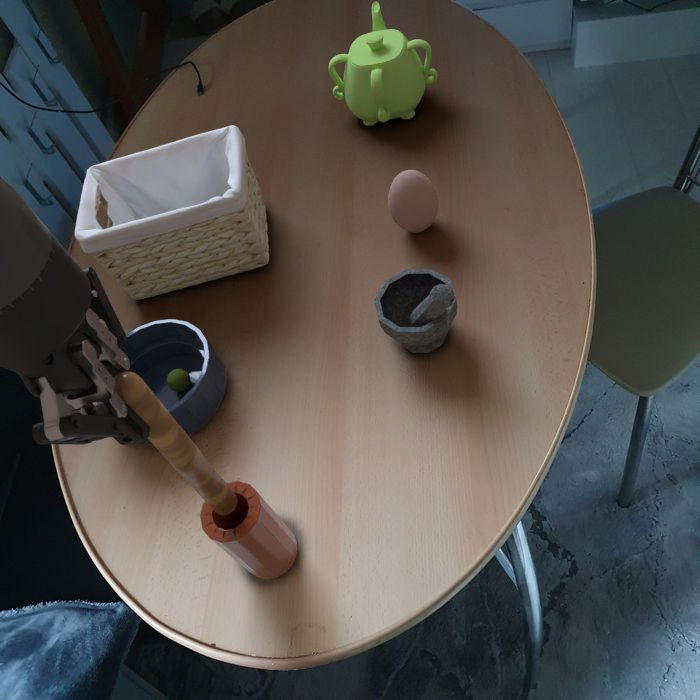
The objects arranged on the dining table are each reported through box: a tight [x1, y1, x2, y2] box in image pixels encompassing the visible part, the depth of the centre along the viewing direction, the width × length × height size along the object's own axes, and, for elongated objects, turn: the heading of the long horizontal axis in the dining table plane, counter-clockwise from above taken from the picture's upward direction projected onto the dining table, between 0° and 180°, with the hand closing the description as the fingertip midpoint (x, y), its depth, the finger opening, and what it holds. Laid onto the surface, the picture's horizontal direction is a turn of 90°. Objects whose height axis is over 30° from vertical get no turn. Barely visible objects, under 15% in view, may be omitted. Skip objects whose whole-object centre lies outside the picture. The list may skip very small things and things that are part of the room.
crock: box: [199, 480, 298, 580], centre depth 69 cm, size 6×6×12 cm
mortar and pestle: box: [373, 268, 458, 354], centre depth 80 cm, size 11×9×12 cm
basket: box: [74, 124, 270, 301], centre depth 98 cm, size 24×16×15 cm
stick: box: [113, 372, 237, 515], centre depth 55 cm, size 2×2×22 cm
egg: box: [387, 169, 439, 233], centre depth 92 cm, size 7×7×10 cm
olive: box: [167, 369, 191, 392], centre depth 87 cm, size 3×3×3 cm
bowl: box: [96, 318, 228, 446], centre depth 86 cm, size 15×15×6 cm
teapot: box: [328, 0, 439, 127], centre depth 109 cm, size 16×14×13 cm
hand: (138, 418), depth 50 cm, fingers closed on stick, 2 cm apart
